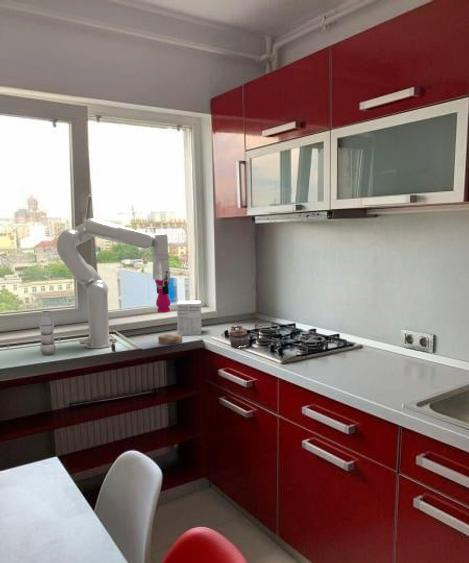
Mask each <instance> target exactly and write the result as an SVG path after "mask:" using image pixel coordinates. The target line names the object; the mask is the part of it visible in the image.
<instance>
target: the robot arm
mask: <svg viewBox="0 0 469 563" xmlns="http://www.w3.org/2000/svg"><path fill="white" fill-rule="evenodd" d="M94 237H95V238H98V239H101V240H102V239H103V240H105V241H106V240H107V241H110V242H115V243H117V244H118V243H119V244H124V245H125V244H126V245H130V246H133V247H137V248H141V249H144V250H145V249H150V248H152V256H153V260H152V261H153V262H152V279H153V280H154V281H155V282H154V283H155V286H156V294H157V295H158V294H159V290H158V284H157V283H156V280H157V279H158V280H159V281H163V287H162V289H163V294H167V295H169V294H170V292H169V290H170V289H169V288H170V287H169V286H170V283H171V268H170V263H169V247H168V246H169V243H168V234H167V233H164V232H162V233H161V232H160V233H153V234H152V233H147V232H144V231H139V230H135V229H132V228H128V227H125V226H123V225H119V224H116V223H111V222H109V221H104V220H101V219H97V218H92V217H90V218H87V219H86V220H85V221H84V222H83V223H81V224H79V225H77V226H75V227H73V228H68V229H64V230H63V231H62V232H61V233H60V234H59V236H58V238H57V239H56V251H57V254H58V256H59V258H60V260H61V261H62V262H63V263H64V265H65V267H66V268H67V270H68V271H69V272H70V274H71V275H72V276H73V277H74V279H75V281H77V283H80V284H81V285H82V287H83V288H84V289H85V290H86V301H87V318H88V320H87V321H88V336H87V337H86V339H81V340H80V339H79V342H78V343H79V345H85V347H86V348H88V349H106V348H110V347H112V346H113V345H114V344H113V342H112V341H110V327H109V326H110V322H109V302H108V301H109V299H108V293H109V287H108V285H107V283H106V282H105V281H104V280H103V278H102V277H101V275H100V274H99V273H98V272H97V271H96V269H95V268H94V267H93V266H92V265H91V264H89V263H87V262H86V260H85V259H84V258H83V256H82V255H81V254H80V252H79V251H78V249H77V246H79V245H80V244H81V245H82V244H83V243H85V242H87V241H89V240H91V239H93V238H94ZM164 279H167V280H164ZM164 281H166V282H164ZM112 344H113V345H112ZM111 345H112V346H111Z"/></svg>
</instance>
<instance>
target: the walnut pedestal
mask: <svg viewBox="0 0 469 563" xmlns="http://www.w3.org/2000/svg"><path fill="white" fill-rule="evenodd" d="M157 342H158V344H160V345H166V346H167V345H169V346H170V345H178V344H181V343H183V335H179V334H178V333H166V334H161V335H159V336H158V337H157Z"/></svg>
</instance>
